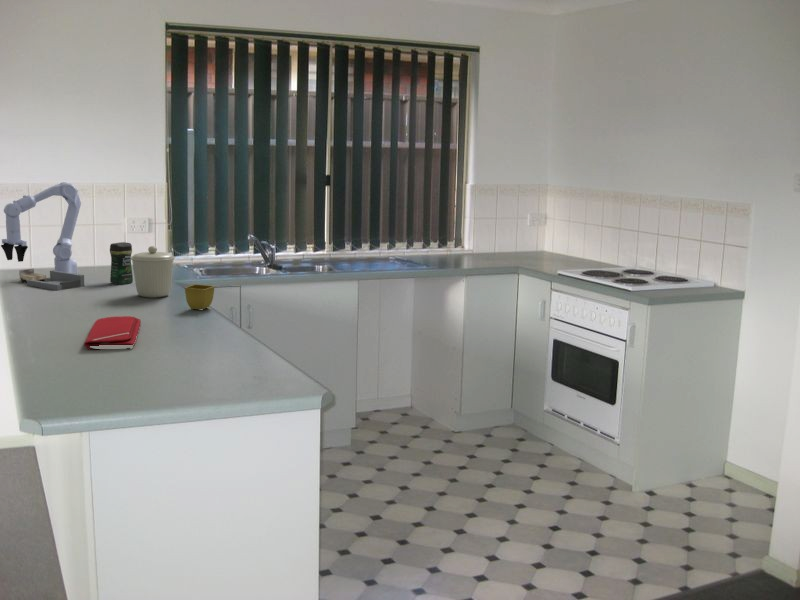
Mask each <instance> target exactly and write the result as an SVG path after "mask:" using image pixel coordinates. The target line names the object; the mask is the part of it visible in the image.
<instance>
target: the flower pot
mask: <svg viewBox="0 0 800 600" xmlns="http://www.w3.org/2000/svg"><path fill="white" fill-rule="evenodd" d="M214 292H215V285H210V284H209V285H208V284H198V283H197V284H192V285H189V286H186V287H184V293H185V299H186V300H185V301H186V303H187V305H188V307H189V308H190V309H191V310H193V309H205V308H207V307H209V308H210V306H211V305H212V302H213V299H214ZM207 309H208V308H207ZM205 310H206V309H205Z"/></svg>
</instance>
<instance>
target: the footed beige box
mask: <svg viewBox="0 0 800 600" xmlns="http://www.w3.org/2000/svg"><path fill="white" fill-rule="evenodd" d="M18 275H19V276H18V277H19V279H20V282H22V283H25V282H27V280H37V281H43V282H46V281H45V280H46V279H47V275H46V274H41V273H36V272H35V269H34V268H27V269H21V270H19V273H18Z"/></svg>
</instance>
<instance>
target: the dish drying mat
mask: <svg viewBox="0 0 800 600" xmlns="http://www.w3.org/2000/svg"><path fill="white" fill-rule="evenodd" d="M139 327H140V328H141V319H139V318H137V317H135V316H109V317H108V316H107V317H102V318H98V319H97V320H95V321H94V323H93V324H92V327H91V328H90V331H89V333H88V335H87V337H86V339H85V341H84V343H83V345H84V347H86V348H87V347H90V346H99V345H133V344H134V342H135V340H136V336H137V334H138V335H139V332H138V330H139V331H140V329H139ZM137 337H138V336H137ZM136 341H137V340H136Z"/></svg>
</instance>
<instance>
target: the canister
mask: <svg viewBox="0 0 800 600" xmlns="http://www.w3.org/2000/svg"><path fill="white" fill-rule="evenodd" d="M130 259H131V264H132V271H133V275H134V282H135V289H136V292H137V294H138V295H139V296H140V297H142V298H150V299H151V298H153V299H154V298H163V297H166V296H168V295H170V293H171V290H172V281H173V280H172V279H173V272H174V271H173V269H174V260H175V259H176V256H174V255H173V254H171V253H168V252H163V251H162V252H161V251H158V248H157V247H156V246H154V245H151V246H148V251H145V252H138V253H135V254H133V255H131V257H130Z"/></svg>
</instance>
